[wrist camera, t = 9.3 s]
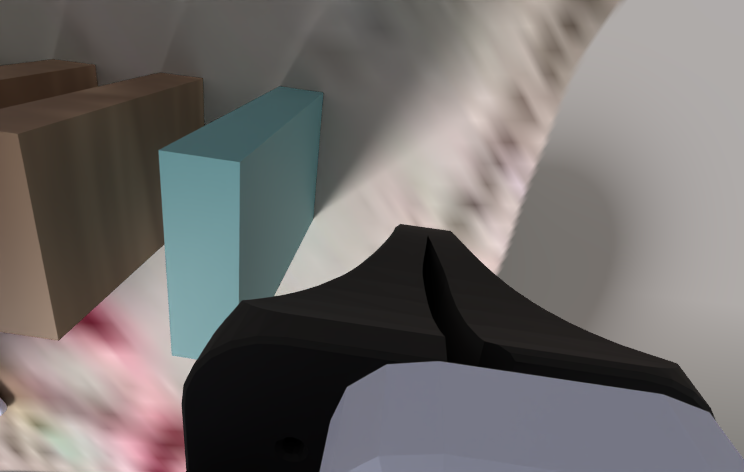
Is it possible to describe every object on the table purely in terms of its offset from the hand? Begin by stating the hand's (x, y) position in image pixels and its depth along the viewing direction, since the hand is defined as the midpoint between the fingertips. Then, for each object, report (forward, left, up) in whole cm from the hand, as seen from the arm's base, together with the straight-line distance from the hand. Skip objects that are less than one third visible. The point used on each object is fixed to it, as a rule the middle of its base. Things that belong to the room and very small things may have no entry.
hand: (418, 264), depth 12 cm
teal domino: (-4, +2, -7) cm, 9 cm away
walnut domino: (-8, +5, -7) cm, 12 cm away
